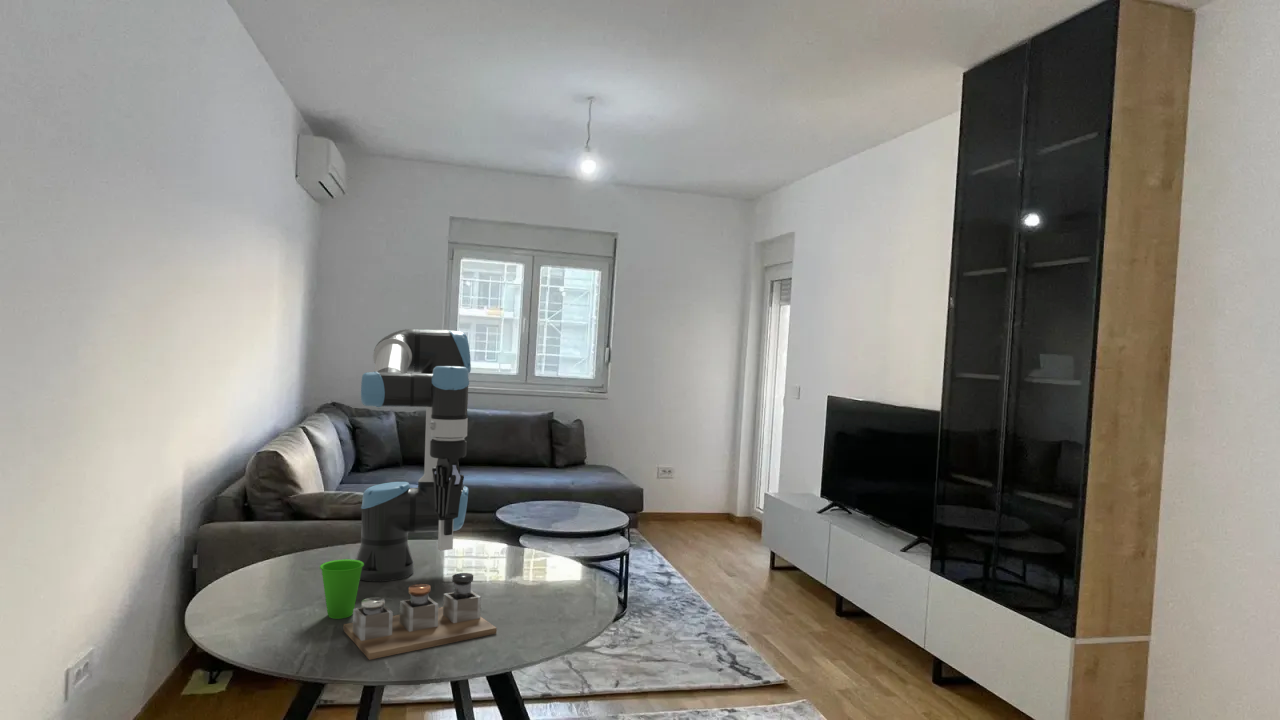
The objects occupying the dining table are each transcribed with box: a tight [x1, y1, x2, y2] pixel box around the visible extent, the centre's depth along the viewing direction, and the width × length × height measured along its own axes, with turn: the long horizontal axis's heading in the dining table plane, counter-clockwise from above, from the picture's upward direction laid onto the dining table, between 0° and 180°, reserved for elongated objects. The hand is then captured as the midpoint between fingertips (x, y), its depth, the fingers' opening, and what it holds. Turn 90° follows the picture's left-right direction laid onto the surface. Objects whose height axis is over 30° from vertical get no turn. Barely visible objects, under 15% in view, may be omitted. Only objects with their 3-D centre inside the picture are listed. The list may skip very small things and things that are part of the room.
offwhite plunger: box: [360, 596, 386, 616], centre depth 152 cm, size 4×4×5 cm
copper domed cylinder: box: [408, 583, 432, 608], centre depth 157 cm, size 4×4×5 cm
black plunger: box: [451, 572, 474, 600], centre depth 163 cm, size 4×4×5 cm
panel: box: [342, 590, 498, 661], centre depth 156 cm, size 18×26×6 cm
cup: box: [319, 558, 364, 620], centre depth 165 cm, size 9×9×11 cm
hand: (445, 549), depth 160 cm, fingers closed
